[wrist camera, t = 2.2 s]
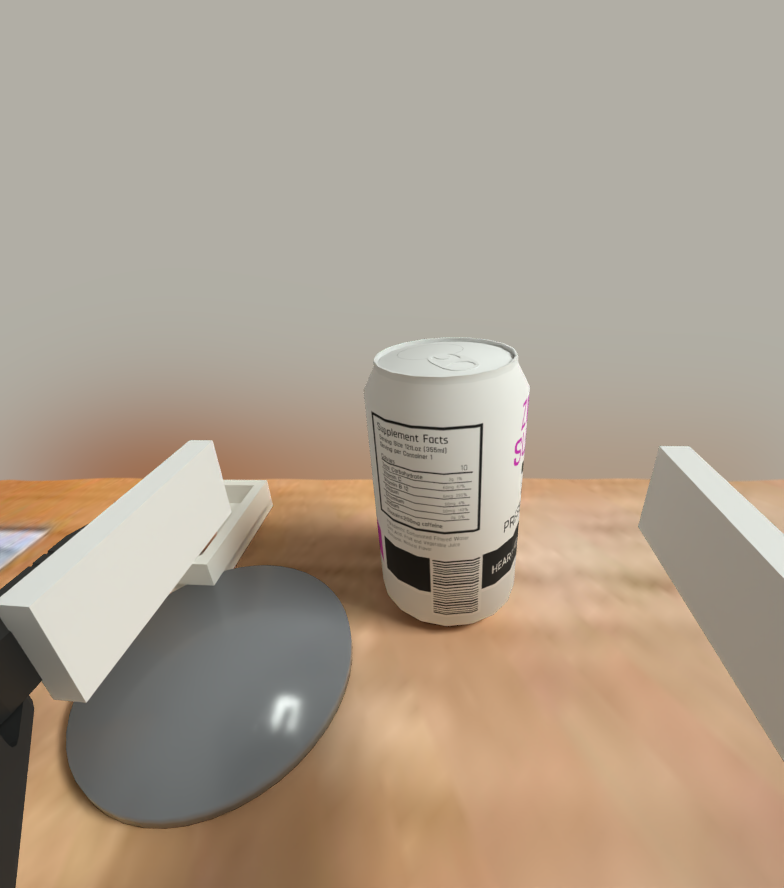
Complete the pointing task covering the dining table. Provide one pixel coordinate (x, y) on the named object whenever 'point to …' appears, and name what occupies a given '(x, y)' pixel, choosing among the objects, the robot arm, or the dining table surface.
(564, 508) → the dining table surface
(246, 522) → the ball dish
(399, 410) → the supplement can
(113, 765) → the slate coaster
